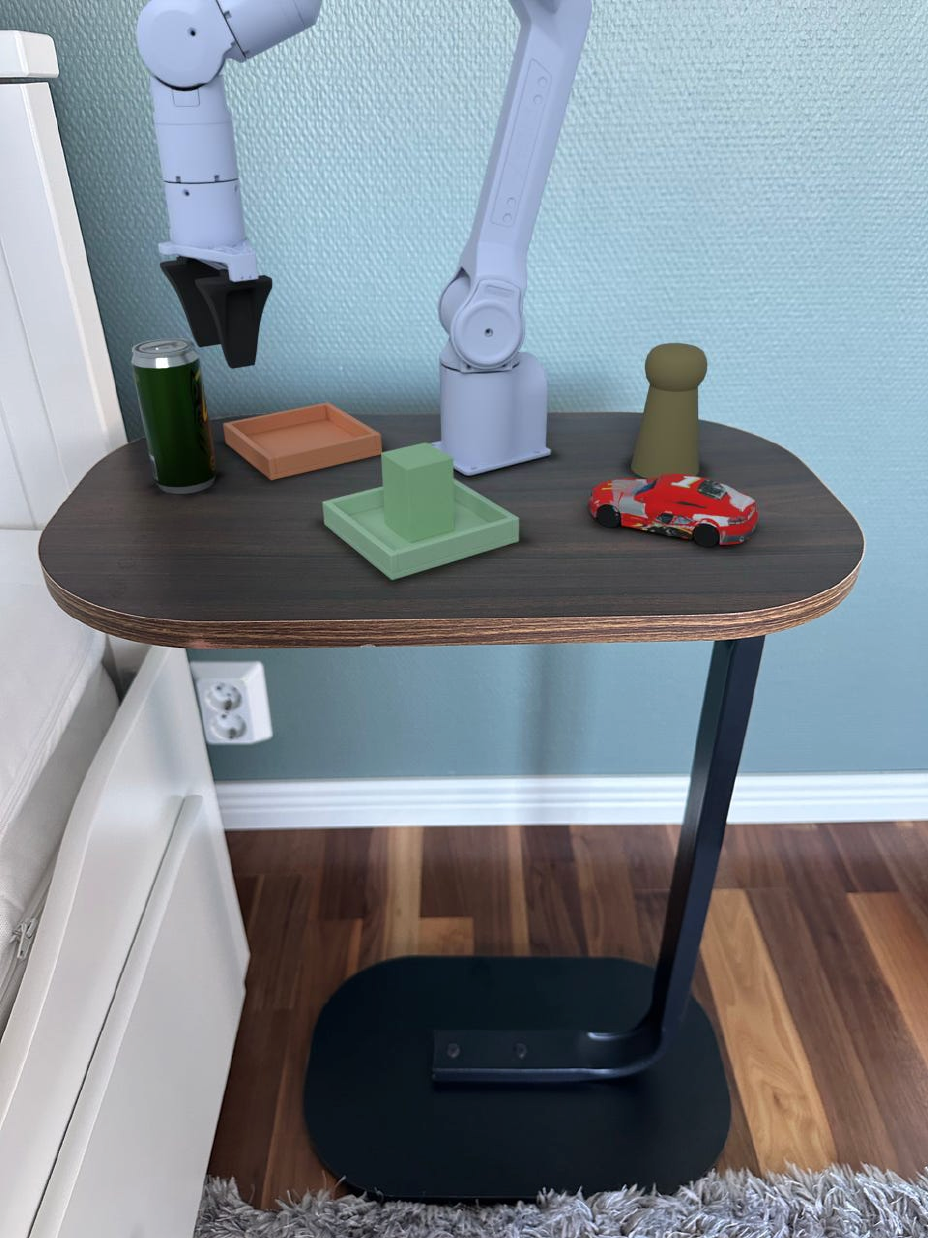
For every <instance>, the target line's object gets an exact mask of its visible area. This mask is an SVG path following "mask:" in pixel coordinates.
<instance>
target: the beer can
mask: <svg viewBox="0 0 928 1238" xmlns="http://www.w3.org/2000/svg"><path fill="white" fill-rule="evenodd" d="M131 352H132V357H131V361H130V362H131V367H132V373H133V378H134V384H135V387H136V388H135V389H136V393H137V399H138V404H139V409H140V414H141V420H142V425H143V429H144V435H145V441H146V445H147V451H148V456H149V460H150V465H151V471H152V476H153V479H154V480H153V481H154V482H155V484H156V485H157V487H158V488H159V490H161V491H162V492H164V493H168V494H174V495H187V494H193V493H198V492H202V491H205V490H207V489H208V488H210V487H211V486H213V485H214V483H215V480H216V477H217V474H218V469H217V462H216V457H215V449H214V444H213V438H212V437H213V436H212V430H211V425H210V417H209V412H208V411H209V410H208V405H207V404H208V403H207V399H206V393H205V386H204V380H203V373H202V367H201V366H202V365H201V361H200V355H199V354H198V352H197V351H196V349H195V343H194V342H193V341H192V340H189V339H186V338H185V339H184V338H174V337H173V338H172V337H171V338H157V339H151V340H145V341H143V342H139V343H137V344H135V345H133V346H132V348H131Z"/></svg>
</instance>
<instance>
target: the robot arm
mask: <svg viewBox="0 0 928 1238" xmlns="http://www.w3.org/2000/svg"><path fill="white" fill-rule="evenodd" d="M507 1H508V3H509V5H510V7H511V9H512V10H513V12H514V14H515V15H516V18H517V20H518V22H519V23H520V29H519V33H518V37H517V41H516V46H515V50H514V54H513V57H512V62H511V65H510V71H509V73H508V78H507V83H506V86H505V92H504V95H503V99H502V103H501V107H500V112H499V115H498V118H497V119H498V120H497V123H496V128H495V132H494V136H493V140H492V145H491V148H490V149H491V150H490V153H489V156H488V161H487V165H486V169H485V173H484V177H483V181H482V186H481V190H480V193H479V198H478V201H477V206H476V210H475V215H474V218H473V222H472V226H471V231H470V235H469V237H468V239H467V241H466V244H465V245H464V246H463V248H462V251H461V253H460V255H459V259H458V262H457V266H456V268H455V269H456V270H455V271H454V273H453V275H452V276H451V278H450V280H448V282H447V283H446V284H445V285H444V286H443V288H442V290H441V292H440V294H439V296H438V300H437V307H436V308H437V317H438V320H439V323H440V325H441V327H442V328H443V330H444V331H445V332H446V334H448V336H449V337H448V339H447V341H446V343H445V345H444V347H443V348H442V350H441V351H440V352H439V354H438V365H439V367H438V368H439V369H438V370H439V371H438V372H439V408H440V409H439V413H440V440H439V441H434V442H430V443H429V444H430V445H432V446H433V447H435V448H437V449H439V450H440V451H442V452H444V453H445V454H447V455H449V456H451V457H452V458H453V470H456V471H458V472H459V473H461V474H463V475H464V476H466V477H467V476H468V477H470V476H475V475H478V474H483V473H486V472H490V471H493V470H497V469H502V468H506V467H509V466H513V465H518V464H521V463H525V462H528V461H533V460H536V459H540V458H545V457H548V456H551V454H552V449H550V448H549V447H548V446H547V430H548V401H549V385H548V379H547V374H546V370H545V368H544V366H543V364H542V362H541V361H540V360H539V358H538V357H537V356H535V354H533V353H531V352H529V351H520V350H521V348H522V346H523V344H524V340H525V336H526V321H525V316H524V309H523V308H524V299H525V295H526V292H527V287H528V273H527V272H528V271H527V268H528V267H527V256H528V255H527V254H528V251H529V247H530V244H531V240H532V236H533V232H534V229H535V225H536V221H537V219H538V218H537V217H538V214H539V210H540V206H541V203H542V200H543V196H544V193H545V189H546V185H547V181H548V177H549V174H550V170H551V166H552V162H553V159H554V155H555V152H556V149H557V144H558V141H559V137H560V132H561V129H562V127H563V123H564V122H563V121H564V119H565V115H566V111H567V108H568V105H569V101H570V98H571V97H570V96H571V93H572V89H573V86H574V81H575V78H576V74H577V71H578V67H579V64H580V60H581V56H582V53H583V49H584V45H585V42H586V38H587V35H588V31H589V27H590V24H591V23H590V22H591V19H592V11H593V4H592V3H593V2H592V0H507ZM322 5H323V0H149V1H148V2H147V3H146V4H145V6H144V7H143V8H142V9H141V12H140V14H139V16H138V20H137V21H136V22H137V23H136V31H135V37H136V44H137V48H138V52H139V55H140V56H141V58H142V61H143V63H144V64H145V66H146V67H147V68H148V69H149V71H150V72H151V73H152V74H153V75H150V76H149V83H150V85H149V86H150V87H149V91H150V97H151V100H152V102H153V108H154V111H153V113H152V117H153V118H152V119H153V123H154V124H153V125H154V131H155V138H156V145H157V151H158V157H159V163H160V169H161V176H162V183H163V189H164V194H165V201H166V207H167V213H168V220H169V226H170V228H169V229H168V233H169V237H170V241H165V242H159V243H157V247H158V253H160V254H161V255H163V256H176V258H175V259H174V260H166V261H161V262H160V263H159V268H160V269H161V271H162V273H163V274H164V276H165V277H166V278H167V280H168V282H169V283H170V285H171V286H172V288H173V290H174V292H175V293H176V296H177V299H178V300H179V302H180V304H181V307H182V309H183V313H184V316H185V318H186V321H187V323H188V326H189V329H190V332H191V334H192V337H193V340H194V342H195V344H196V346H197V347H198V348H206V347H212V346H219V345H221V350H222V352H223V353H222V354H223V357H224V359H225V361H226V364H227V366H228V368H230V369H231V370H235V369H240V368H247V367H251V366H255V365H256V360H257V353H258V345H259V335H260V329H261V322H262V317H263V312H264V309H265V306H266V303H267V300H268V298H269V295H270V294H271V291H272V289H273V286H274V285H273V278H272V277H270V276H268V275H266V274H261V275H259V271H258V261H257V253H256V252H255V251H254V250H252V249H251V245H250V240H249V237H248V236H247V235H246V227H245V218H244V210H243V209H244V208H243V202H242V193H241V184H240V178H239V177H240V176H239V175H240V174H239V168H238V159H237V152H236V143H235V142H236V141H235V134H234V127H233V126H234V125H233V116H232V112H231V110H230V109H229V108H228V103H227V95H226V94H227V93H226V86H225V77H224V74H221V73H222V71H223V68H224V67H225V65H226V62H227V59H230V60H233V61H235V62H237V63H240V64H243V63H245V62H246V61H247V60H248V61H249V60H251V59H253V58H254V57H256V56H258V55H260V54H262V53H265V52H266V51H268V50H270V49H272V48H273V47H275V46H278V45H279V44H281V43H283V42H285V41H287V40H289V39H291V38H292V37H294V36H296V35H298V34H301V33H302V32H305V31H306V30H308V29H310V28H312V27H314V26H316V24H317V22H318V19H319V16H320V12H321V7H322Z"/></svg>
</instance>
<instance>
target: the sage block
mask: <svg viewBox="0 0 928 1238" xmlns="http://www.w3.org/2000/svg"><path fill="white" fill-rule="evenodd" d="M380 458H381V476H382V486H383V496H384V513H385V524H386V525H387V526H388V527H390V528H391V529H392V530H394V531H395V532H396V533H398V534H399V535H400V536H402V537H403V538H404V539H406V540H407V541H408V542H410V543H412V542H415V541H419V540H422V539H426V538H429V537H432V536H436V535H439V534H443V533H446V532H450V531H453V530H454V479H455V478H454V468H453V458H452V457H451V456H449V455H447V454H445V453H444V452H442V451H440V450H439V449H437V448H435V447H433V446H432V445H430V443H428V442H427V441H425V442H421V443H416V444H411V445H408V446H404V447H400V448H395V449H391V450H387V451H382V453H381V455H380ZM453 478H454V479H453Z"/></svg>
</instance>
